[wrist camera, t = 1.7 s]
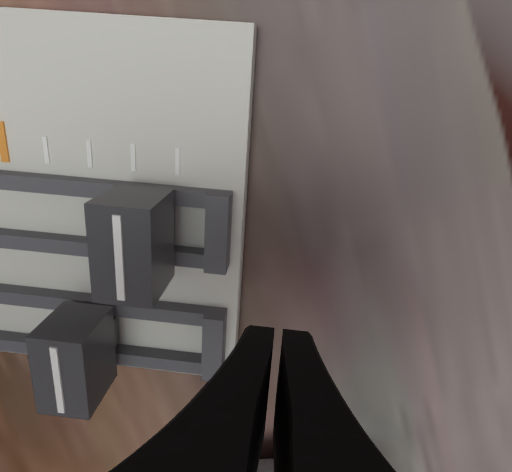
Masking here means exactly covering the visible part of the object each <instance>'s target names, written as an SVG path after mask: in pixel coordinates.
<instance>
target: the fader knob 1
mask: <svg viewBox="0 0 512 472" xmlns="http://www.w3.org/2000/svg"><path fill="white" fill-rule="evenodd" d="M25 341H26V347H27V353H28V360H29V366H30V372H31V378H32V385H33V391H34V397H35V403H36V410H37V413H38V414H46V415H54V416H61V417H69V418H77V419H85V420H90V418H91V417H92V415H93V413H94V412H95V410H96V408H97V407H98V405H99V404H100V402H101V400H102V399H103V397H104V395H105V394H106V392H107V391H108V389H109V387H110V386H111V384H112V382H113V381H114V379H115V378H116V376H117V364H116V349H115V347H116V345H117V344H118V342H119V341H120V335H119V319H118V317H113V306H105V305H96V304H87V303H78V302H69V301H63V302H62V303H61V304H60V305H59V306H58V307H57V308H56V309H55V310H54V311H53V312H52V313H51V314H49V315H48V316H47V317H46V318H45V319H44V320H43V321H42V322H41V323H40V324H39V325H38V326H37V327H36V328H35V329H33V330H32V331H31V332H30V333H29V334H28V335H27V336H26V337H25Z"/></svg>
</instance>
